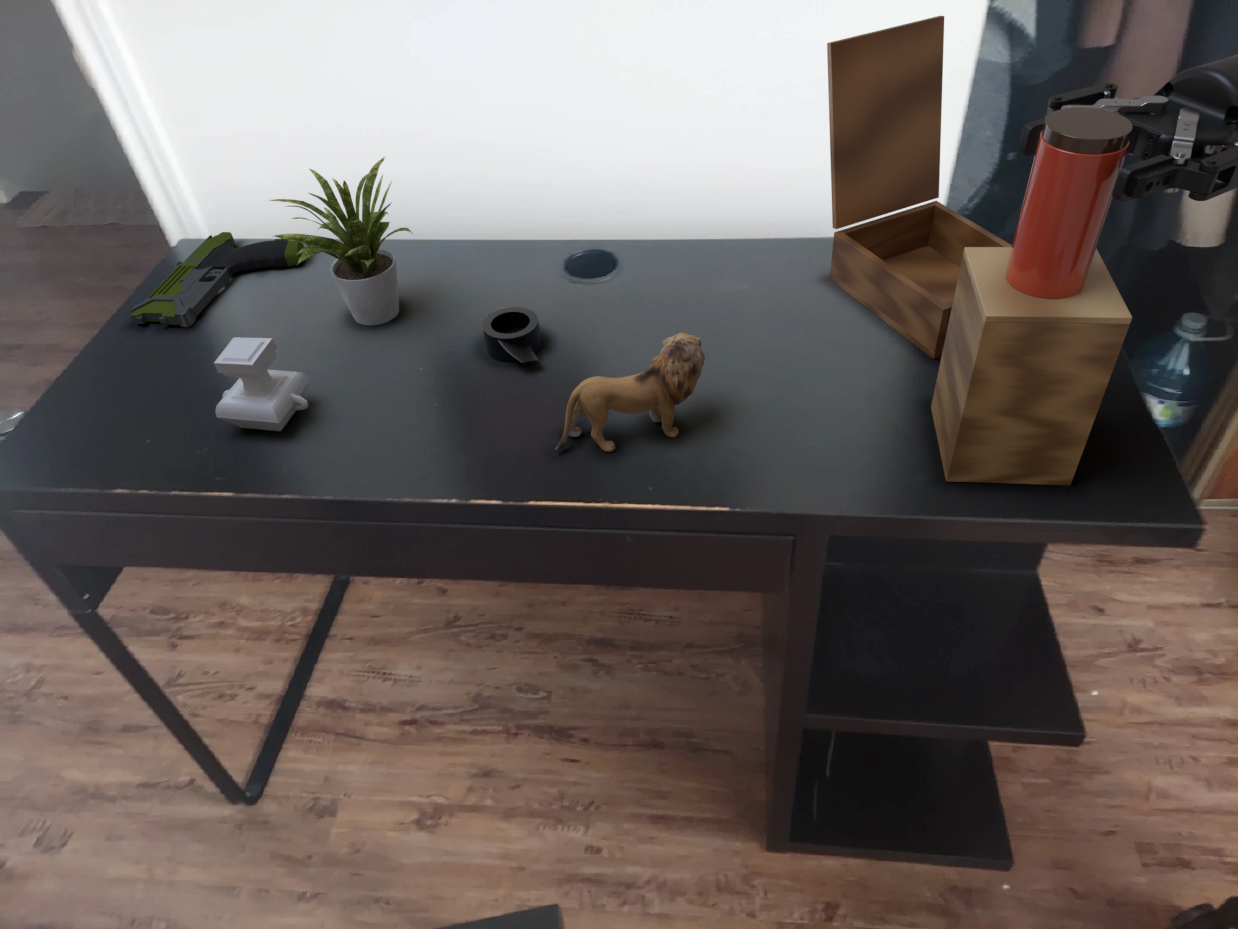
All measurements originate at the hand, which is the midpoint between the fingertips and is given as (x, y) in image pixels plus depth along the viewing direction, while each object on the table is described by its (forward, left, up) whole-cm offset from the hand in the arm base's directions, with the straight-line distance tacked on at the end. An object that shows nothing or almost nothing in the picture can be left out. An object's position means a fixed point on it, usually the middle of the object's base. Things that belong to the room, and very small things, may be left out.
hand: (1069, 162), depth 63 cm
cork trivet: (0, -1, -10) cm, 10 cm away
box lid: (+27, -20, -11) cm, 35 cm away
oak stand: (0, -1, -26) cm, 26 cm away
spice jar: (0, -1, -9) cm, 10 cm away
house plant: (+62, +25, -26) cm, 72 cm away
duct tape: (+44, +19, -26) cm, 55 cm away
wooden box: (+17, -17, -26) cm, 35 cm away
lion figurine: (+25, +20, -26) cm, 41 cm away
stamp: (+52, +43, -26) cm, 72 cm away
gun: (+80, +35, -26) cm, 91 cm away
